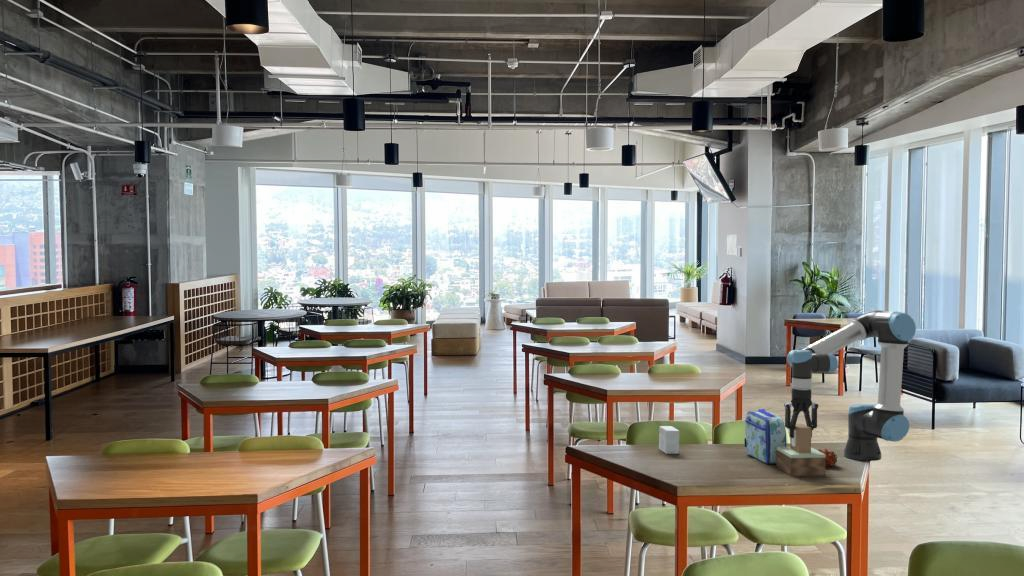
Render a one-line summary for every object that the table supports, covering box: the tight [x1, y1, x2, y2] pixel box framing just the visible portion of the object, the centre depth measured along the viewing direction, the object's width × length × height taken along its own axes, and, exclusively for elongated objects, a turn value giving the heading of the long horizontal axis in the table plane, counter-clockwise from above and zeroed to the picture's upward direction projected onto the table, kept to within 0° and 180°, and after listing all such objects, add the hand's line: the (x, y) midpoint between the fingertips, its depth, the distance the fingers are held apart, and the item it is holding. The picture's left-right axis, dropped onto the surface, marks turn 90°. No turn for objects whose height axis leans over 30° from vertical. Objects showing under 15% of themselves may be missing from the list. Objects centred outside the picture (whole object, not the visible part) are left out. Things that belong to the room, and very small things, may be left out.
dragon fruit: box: [817, 448, 838, 469], centre depth 329 cm, size 8×8×12 cm
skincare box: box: [658, 425, 680, 455], centre depth 357 cm, size 10×6×10 cm, turn 7°
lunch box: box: [744, 408, 788, 465], centre depth 342 cm, size 26×11×21 cm, turn 3°
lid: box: [777, 423, 825, 458], centre depth 321 cm, size 14×14×11 cm
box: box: [775, 450, 826, 477], centre depth 321 cm, size 14×14×8 cm
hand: (800, 445), depth 321 cm, fingers closed on lid, 5 cm apart
